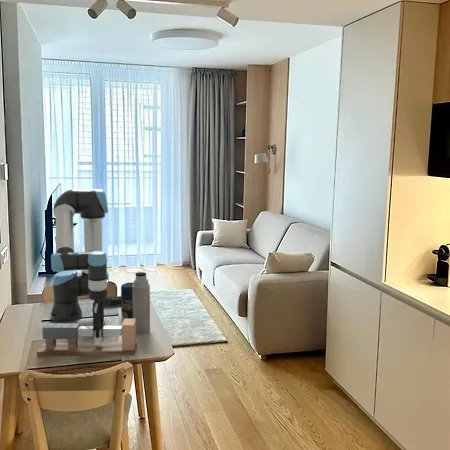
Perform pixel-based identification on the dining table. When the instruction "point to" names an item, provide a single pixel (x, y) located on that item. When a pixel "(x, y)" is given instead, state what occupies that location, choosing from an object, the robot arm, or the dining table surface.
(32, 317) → the dining table surface
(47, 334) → the charcoal sleeve
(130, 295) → the canister
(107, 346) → the walnut base board
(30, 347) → the dining table surface
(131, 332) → the terracotta socket block
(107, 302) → the dark green bar
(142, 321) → the thermos bottle
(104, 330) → the telescoping tube
